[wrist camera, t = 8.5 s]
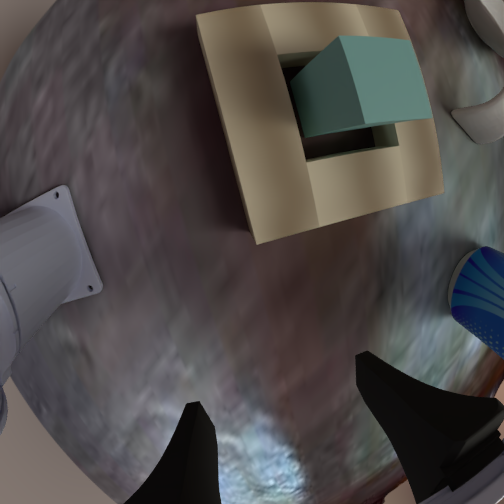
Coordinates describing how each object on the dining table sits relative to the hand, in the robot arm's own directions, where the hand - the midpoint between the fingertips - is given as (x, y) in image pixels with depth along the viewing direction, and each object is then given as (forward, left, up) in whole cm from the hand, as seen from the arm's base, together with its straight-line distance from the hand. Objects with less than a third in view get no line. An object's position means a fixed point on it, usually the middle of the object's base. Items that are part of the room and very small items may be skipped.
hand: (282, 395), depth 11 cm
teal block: (+8, +12, -9) cm, 17 cm away
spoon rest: (+30, +18, -10) cm, 36 cm away
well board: (+8, +12, -9) cm, 17 cm away
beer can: (+22, -6, -10) cm, 25 cm away
